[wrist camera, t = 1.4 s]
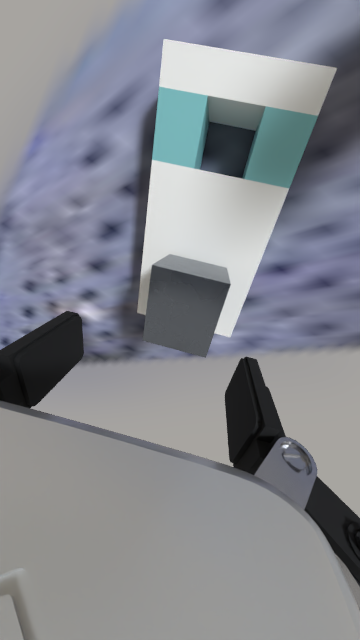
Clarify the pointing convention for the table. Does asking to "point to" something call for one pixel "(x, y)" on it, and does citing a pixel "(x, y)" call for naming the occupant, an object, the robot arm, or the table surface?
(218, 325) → the docking board
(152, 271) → the grey rectangular block
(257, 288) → the table surface
